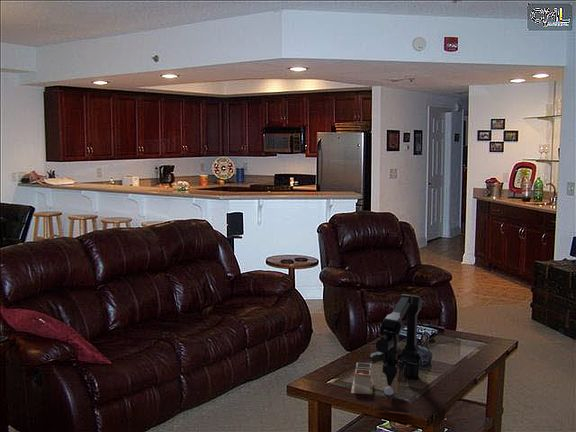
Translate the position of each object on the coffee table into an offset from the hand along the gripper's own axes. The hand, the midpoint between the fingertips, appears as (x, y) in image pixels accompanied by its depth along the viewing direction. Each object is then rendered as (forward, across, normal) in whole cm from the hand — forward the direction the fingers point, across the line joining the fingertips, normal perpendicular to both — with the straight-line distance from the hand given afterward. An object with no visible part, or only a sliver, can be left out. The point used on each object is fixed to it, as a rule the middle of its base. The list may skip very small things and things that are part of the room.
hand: (389, 382), depth 281 cm
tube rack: (+6, -6, -12) cm, 14 cm away
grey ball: (+6, 0, 0) cm, 6 cm away
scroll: (+6, -58, 0) cm, 59 cm away
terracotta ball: (+1, -2, -11) cm, 11 cm away
